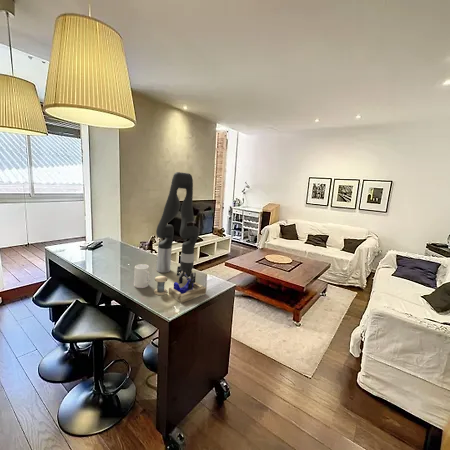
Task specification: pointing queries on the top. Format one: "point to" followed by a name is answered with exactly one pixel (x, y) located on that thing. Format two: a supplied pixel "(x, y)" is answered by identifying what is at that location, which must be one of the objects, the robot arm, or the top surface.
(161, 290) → the bobbin
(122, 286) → the top surface
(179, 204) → the robot arm
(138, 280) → the mug
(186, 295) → the notched board
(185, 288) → the cable clip
